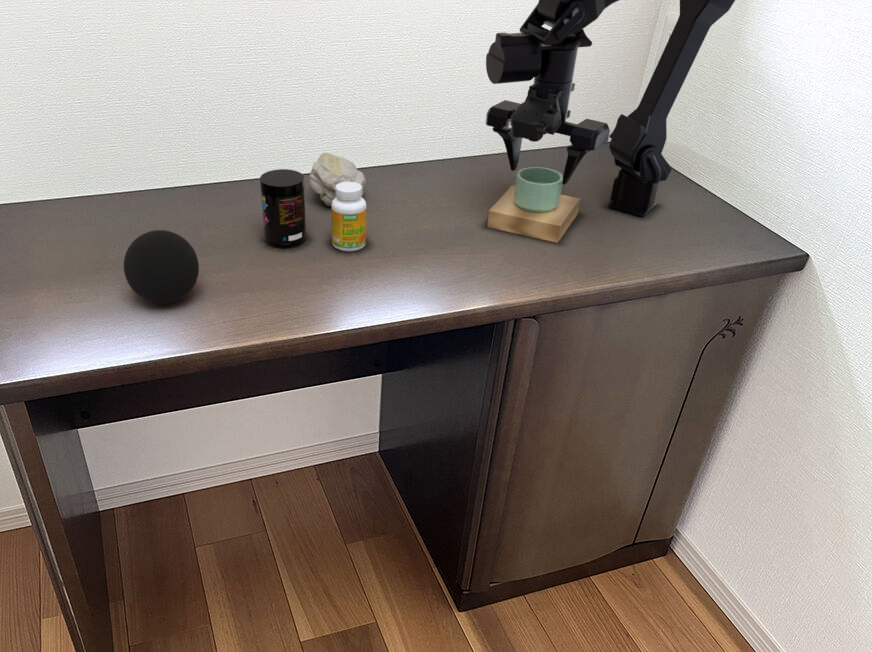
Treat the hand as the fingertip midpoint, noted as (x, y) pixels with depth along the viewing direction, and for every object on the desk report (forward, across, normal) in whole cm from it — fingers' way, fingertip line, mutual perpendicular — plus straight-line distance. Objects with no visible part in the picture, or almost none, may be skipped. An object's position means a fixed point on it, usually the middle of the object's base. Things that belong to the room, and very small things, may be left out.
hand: (538, 176), depth 129 cm
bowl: (+5, 0, 0) cm, 5 cm away
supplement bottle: (+8, -19, -26) cm, 33 cm away
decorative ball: (+8, -29, -55) cm, 63 cm away
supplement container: (+8, -28, -31) cm, 42 cm away
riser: (+8, 0, 0) cm, 8 cm away
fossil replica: (+8, -31, -14) cm, 35 cm away
